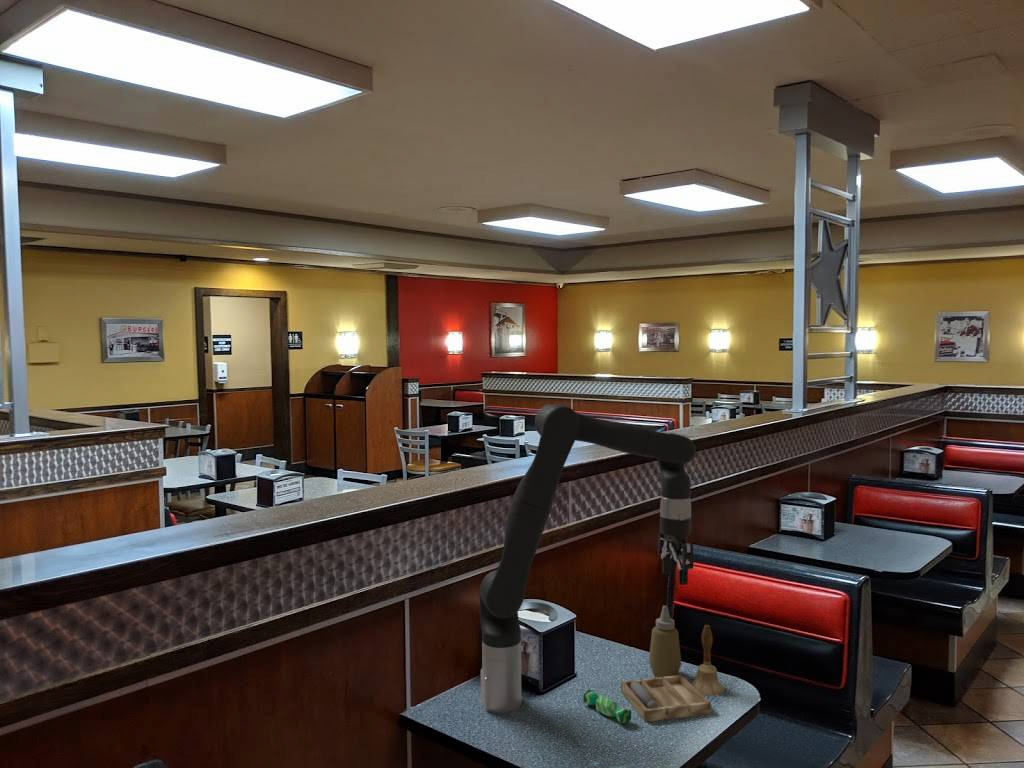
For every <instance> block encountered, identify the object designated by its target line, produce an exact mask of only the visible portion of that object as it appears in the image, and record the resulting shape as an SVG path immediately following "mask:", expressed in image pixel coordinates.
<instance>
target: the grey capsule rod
mask: <svg viewBox="0 0 1024 768" xmlns="http://www.w3.org/2000/svg"><path fill="white" fill-rule="evenodd" d="M631 689H632V690H633V692H634V693H635V694H636V695H637V696H638V698H639V699H640V700H641V701H642V702H643V704H644V705H645V706H646V707H647V708H648V709H651V708H657V707H658V705H657V703H656V701H655V700H654V699H653V698H652V697H651V696H650V695H649V693H648V692H647V691H646V690H645V689H644V688H643V686H642V685H641V684H640V683H639V682H638V681H633V682H632V683H631Z"/></svg>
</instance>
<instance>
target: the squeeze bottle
mask: <svg viewBox="0 0 1024 768" xmlns="http://www.w3.org/2000/svg"><path fill="white" fill-rule="evenodd" d="M675 625H676V624H675V620H674V619H672V618H671V616H670V612H669V608H668V605H662V609H661V612H660V617H658V618H656V619H655V626H654V627H653V628H652V629H651V638H650V646H649V657H648V662H649V665H650V668H651V672H652V675H653V677H654V678H656V677H666V676H676V675H679V671H680V668H681V666H682V658H681V657H682V656H681V647H680V638H679V631H678V629H677V628H676V627H675Z"/></svg>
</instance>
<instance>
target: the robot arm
mask: <svg viewBox="0 0 1024 768" xmlns="http://www.w3.org/2000/svg"><path fill="white" fill-rule="evenodd" d="M534 426H535V429H536V432H537V434H539V436H540V438H539V442H538V445H537V449H536V453H535V456H534V458H533V460H532V462H531V465H530V466H529V468H528V469H527V471H526V473H525V474H524V475H523V477H522V479H521V480H520V481H519V484H518V485H517V488H516V491H515V492H514V494H513V497H512V501H511V505H510V507H509V510H508V514H507V517H506V518H507V519H506V523H505V531H504V541H503V550H502V555H501V559H500V561H499V564H498V566H497V569H495V570H492V571H490V572H488V573H487V574H486V575H485V576H484V578H482V580H481V582H480V587H479V619H480V621H479V622H480V629H481V647H482V648H481V649H482V650H481V652H482V653H481V654H482V655H481V656H482V657H481V660H482V664H481V667H482V668H480V701H481V704H482V706H483V709H484V712H486V713H487V712H488V713H489V712H493V713H498V714H501V713H509V712H513V711H515V710H517V709H519V708H520V707H521V705H522V701H523V700H522V633H521V632H522V631H521V625H520V620H519V610H520V609H521V607H522V606H523V605H522V604H523V602H524V599H525V594H526V589H527V584H528V579H529V577H530V571H531V567H532V564H533V560H534V559H535V556H536V552H537V550H538V547H539V545H540V541H541V539H542V536H543V532H544V531H545V527H546V525H547V522H548V519H549V517H550V513H551V509H552V507H553V503H554V499H555V496H556V493H557V490H558V487H559V483H560V479H561V476H562V472H563V469H564V467H565V464H566V461H567V459H568V458H569V457H568V456H569V455H570V452H571V450H572V449H573V447H574V444H575V442H576V441H577V442H583V443H588V444H593V445H598V446H600V447H603V448H607V449H610V450H613V451H617V452H621V453H624V454H631V455H635V456H640V457H647V458H654V459H656V460H657V461H658V466H659V471H660V475H661V477H660V478H661V487H660V488H661V489H660V490H661V493H660V494H661V497H660V502H659V503H660V505H659V506H660V507H659V510H660V511H659V512H660V514H659V532H658V535H657V536H658V541H657V554H658V555H660V558H661V560H662V566H661V567H662V570H661V571H662V574H664V575H671V574H672V570H673V569H672V568H673V567H672V565H673V564H672V563H673V562H672V557H673V560H674V561H675V562H676V564H677V567H678V570H677V571H678V573H677V574H678V575H677V576H678V577H677V578H678V579H677V580H678V582H677V583H678V584H679V585H680V586H685V585H688V583H689V582H688V581H689V570H693V569H694V567H695V566H694V544H693V543H687V539H686V537H688V536H689V535H691V533H692V500H691V477H690V475H689V474H688V473H687V471H686V470H685V469H686V468H685V465H686V464H688V463H690V462H691V461H693V459H694V458H695V456H696V452H697V448H696V445H695V443H694V442H693V441H692V440H691V438H689V437H687V436H685V435H681V434H677V433H672V432H671V433H669V432H668V433H667V432H663V431H662V432H661V431H657V430H654V429H652V428H648V427H644V426H639V425H636V424H630V423H625V422H619V421H612V420H607V419H606V420H605V419H600V418H595V417H591V416H588V415H584V414H581V413H578V412H576V411H575V410H574V409H573V408H571V407H569V406H567V405H564V404H560V403H549V404H546V405H544V406H543V407H541V408H540V409H539V410H538V411H537V413H536V414H535V418H534Z"/></svg>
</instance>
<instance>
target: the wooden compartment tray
mask: <svg viewBox="0 0 1024 768" xmlns="http://www.w3.org/2000/svg"><path fill="white" fill-rule="evenodd" d="M633 681H638V682H639V683H640V684H641V685H642V686H643V688H644V689H645V690H646V691H647V692H648V693H649V695H650V696H651V697H652V698H653V699H654V700H655V701H656V703H657V705H658V707H657V708H651V709H648V708H647V707H646V706H645V705H644V704H643V702H642V701H641V700H640V699H639V698H638V696H637V695H636V694H635V693H634V692H633V690H632V689H631V683H632V682H633ZM620 693H621V694H622V695H623V697H624V698H625V699H626V700H627V701H628V702H629V704H630V705H631V706H632V708H633V709H634V710H635V711H636V713H637V714H638V715H639V717H641V719H642V720H643V722H644V723H648V722H647V721H649V722H655V721H656V722H657V721H664V719H665V720H671V719H672V718H673V719H679V718H678V717H680V718H685V717H687V718H688V717H692V716H693V717H694V716H700V715H706V714H711V712H712V711H711V710H712V709H711V706H712V704H711V702H710V701H709V700H708V699H707V697H705V695H702V694H701V693H700V692H699V691H698V690H697V689H696V688H695V687H694V686H693V685H692V684H691V682H690V681H689V680H688V679H687V678H686V677H685V676H684V675H682V674H677V675H676V676H666V677H657V678H656V677H651V678H650V677H649V678H641V679H632V680H624V681H623V680H622V681H620Z"/></svg>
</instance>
